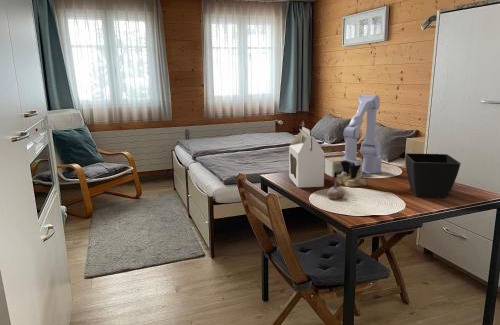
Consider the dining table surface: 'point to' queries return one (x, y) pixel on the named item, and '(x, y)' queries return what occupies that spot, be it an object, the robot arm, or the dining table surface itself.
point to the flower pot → (431, 174)
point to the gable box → (306, 161)
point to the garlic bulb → (335, 192)
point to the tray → (351, 180)
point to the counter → (337, 165)
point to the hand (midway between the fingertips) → (349, 176)
